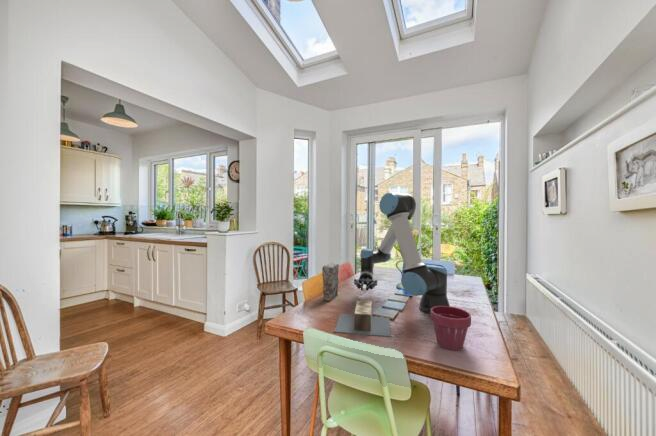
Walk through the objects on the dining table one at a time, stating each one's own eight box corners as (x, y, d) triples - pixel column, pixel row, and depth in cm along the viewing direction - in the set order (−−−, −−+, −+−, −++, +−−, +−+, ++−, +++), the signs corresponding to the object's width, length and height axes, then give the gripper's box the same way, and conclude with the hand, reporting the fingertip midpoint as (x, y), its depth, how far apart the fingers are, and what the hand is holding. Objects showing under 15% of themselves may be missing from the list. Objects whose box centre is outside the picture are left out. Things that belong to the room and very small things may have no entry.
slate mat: (389, 317, 129) (389, 317, 129) (391, 337, 109) (391, 336, 109) (340, 314, 133) (340, 313, 133) (333, 332, 114) (333, 331, 114)
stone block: (333, 301, 152) (333, 267, 152) (322, 300, 154) (322, 266, 154) (339, 294, 165) (339, 262, 164) (328, 293, 167) (328, 262, 166)
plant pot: (464, 337, 109) (464, 306, 108) (476, 355, 95) (476, 320, 95) (427, 334, 112) (427, 304, 111) (433, 351, 98) (434, 317, 98)
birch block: (371, 301, 131) (370, 315, 113) (371, 315, 131) (370, 331, 114) (357, 300, 132) (354, 314, 115) (357, 314, 132) (354, 330, 115)
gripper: (377, 285, 151) (377, 299, 128) (354, 284, 154) (350, 297, 131) (377, 272, 151) (377, 283, 128) (354, 271, 154) (350, 282, 130)
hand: (364, 290), depth 129 cm, fingers closed
